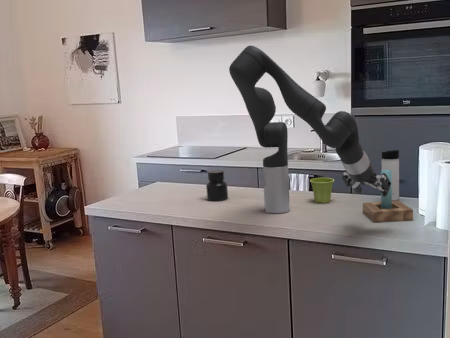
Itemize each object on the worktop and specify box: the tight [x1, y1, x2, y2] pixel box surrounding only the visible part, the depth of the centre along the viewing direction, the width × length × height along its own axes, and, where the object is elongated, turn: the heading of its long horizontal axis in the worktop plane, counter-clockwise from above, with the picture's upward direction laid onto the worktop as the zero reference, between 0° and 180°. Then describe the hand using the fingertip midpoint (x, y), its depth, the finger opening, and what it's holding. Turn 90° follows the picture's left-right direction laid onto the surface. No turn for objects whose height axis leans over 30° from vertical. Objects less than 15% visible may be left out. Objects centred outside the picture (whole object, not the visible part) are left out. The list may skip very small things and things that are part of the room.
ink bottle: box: [205, 169, 229, 202], centre depth 208 cm, size 10×9×12 cm
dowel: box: [380, 169, 392, 209], centre depth 167 cm, size 3×3×16 cm
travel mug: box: [381, 149, 400, 201], centre depth 186 cm, size 6×7×20 cm
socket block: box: [362, 200, 414, 223], centre depth 168 cm, size 13×13×4 cm
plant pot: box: [309, 177, 335, 204], centre depth 193 cm, size 9×9×9 cm
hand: (372, 193), depth 158 cm, fingers open, 8 cm apart
